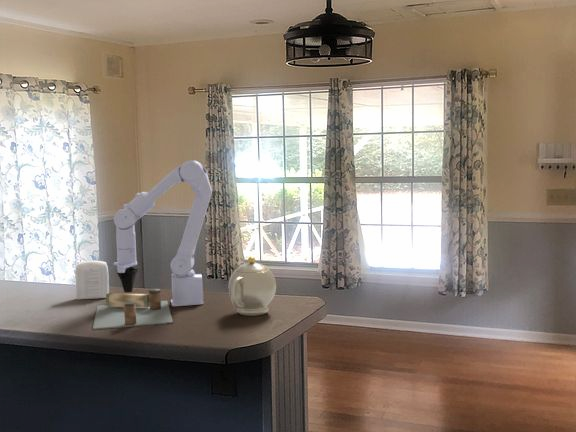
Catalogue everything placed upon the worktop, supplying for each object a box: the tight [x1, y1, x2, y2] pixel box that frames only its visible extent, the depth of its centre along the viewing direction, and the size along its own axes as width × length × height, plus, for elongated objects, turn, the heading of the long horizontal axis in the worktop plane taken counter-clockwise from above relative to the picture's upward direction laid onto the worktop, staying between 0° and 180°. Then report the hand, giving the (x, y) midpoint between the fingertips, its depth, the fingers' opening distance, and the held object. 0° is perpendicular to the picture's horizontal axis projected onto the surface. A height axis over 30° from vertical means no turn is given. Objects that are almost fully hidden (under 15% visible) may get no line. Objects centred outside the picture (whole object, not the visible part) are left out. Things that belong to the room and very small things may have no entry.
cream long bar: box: [105, 292, 150, 307], centre depth 195 cm, size 13×2×4 cm, turn 79°
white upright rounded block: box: [75, 259, 110, 300], centre depth 211 cm, size 10×4×12 cm, turn 103°
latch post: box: [124, 302, 136, 325], centre depth 176 cm, size 3×3×6 cm
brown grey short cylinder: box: [148, 288, 162, 310], centre depth 193 cm, size 3×3×6 cm
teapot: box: [228, 256, 277, 317], centre depth 185 cm, size 18×14×16 cm
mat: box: [92, 300, 174, 331], centre depth 188 cm, size 21×27×1 cm
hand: (128, 291), depth 200 cm, fingers closed
